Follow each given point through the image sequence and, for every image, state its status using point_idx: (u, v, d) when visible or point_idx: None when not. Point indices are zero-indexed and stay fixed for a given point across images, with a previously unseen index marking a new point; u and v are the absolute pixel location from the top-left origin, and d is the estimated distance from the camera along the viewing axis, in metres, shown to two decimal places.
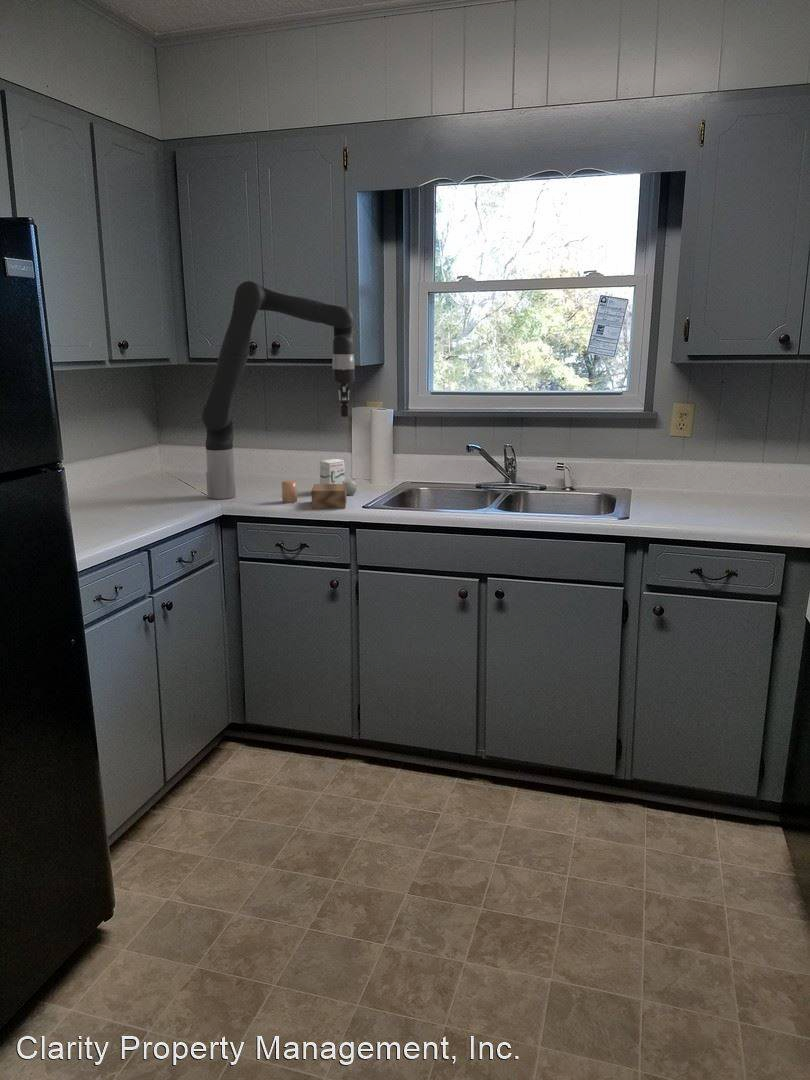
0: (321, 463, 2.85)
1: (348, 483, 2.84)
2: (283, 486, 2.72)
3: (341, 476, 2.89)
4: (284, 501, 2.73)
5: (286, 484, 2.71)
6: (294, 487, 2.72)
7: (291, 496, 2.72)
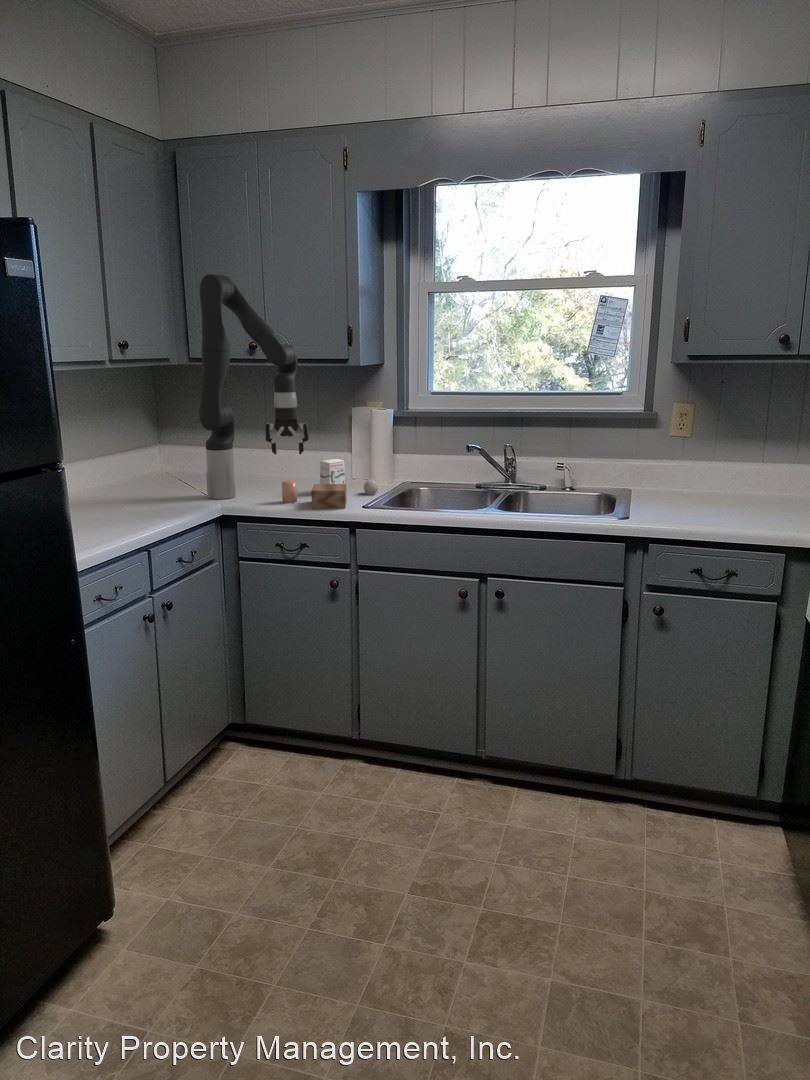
0: (321, 463, 2.85)
1: (372, 493, 2.86)
2: (283, 486, 2.72)
3: (341, 476, 2.89)
4: (284, 501, 2.73)
5: (286, 484, 2.71)
6: (294, 487, 2.72)
7: (291, 496, 2.72)
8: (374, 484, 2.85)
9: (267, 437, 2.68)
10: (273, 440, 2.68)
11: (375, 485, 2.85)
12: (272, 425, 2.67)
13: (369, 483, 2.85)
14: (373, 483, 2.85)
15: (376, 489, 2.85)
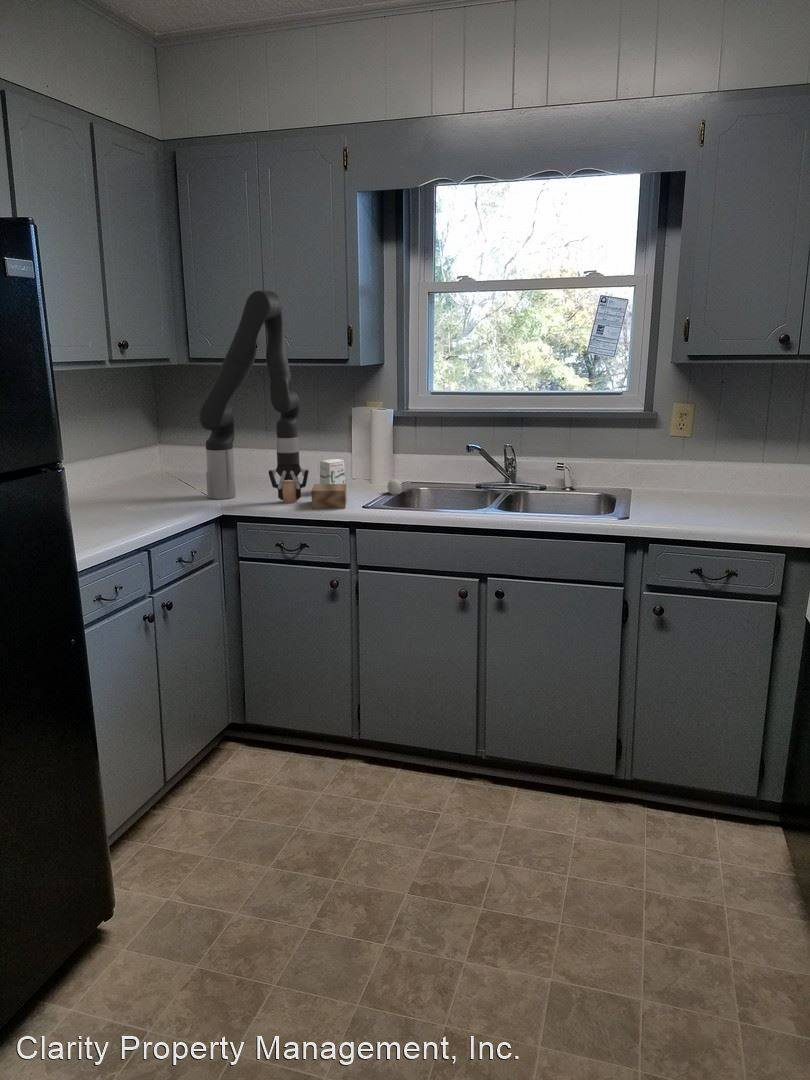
0: (321, 463, 2.85)
1: (395, 482, 2.85)
2: (283, 486, 2.72)
3: (341, 476, 2.89)
4: (284, 501, 2.73)
5: (286, 484, 2.71)
6: (294, 487, 2.72)
7: (291, 496, 2.72)
8: (390, 490, 2.86)
9: (274, 483, 2.72)
10: (279, 486, 2.72)
11: (389, 489, 2.86)
12: (274, 470, 2.71)
13: (394, 493, 2.86)
14: (390, 491, 2.86)
15: (390, 485, 2.85)
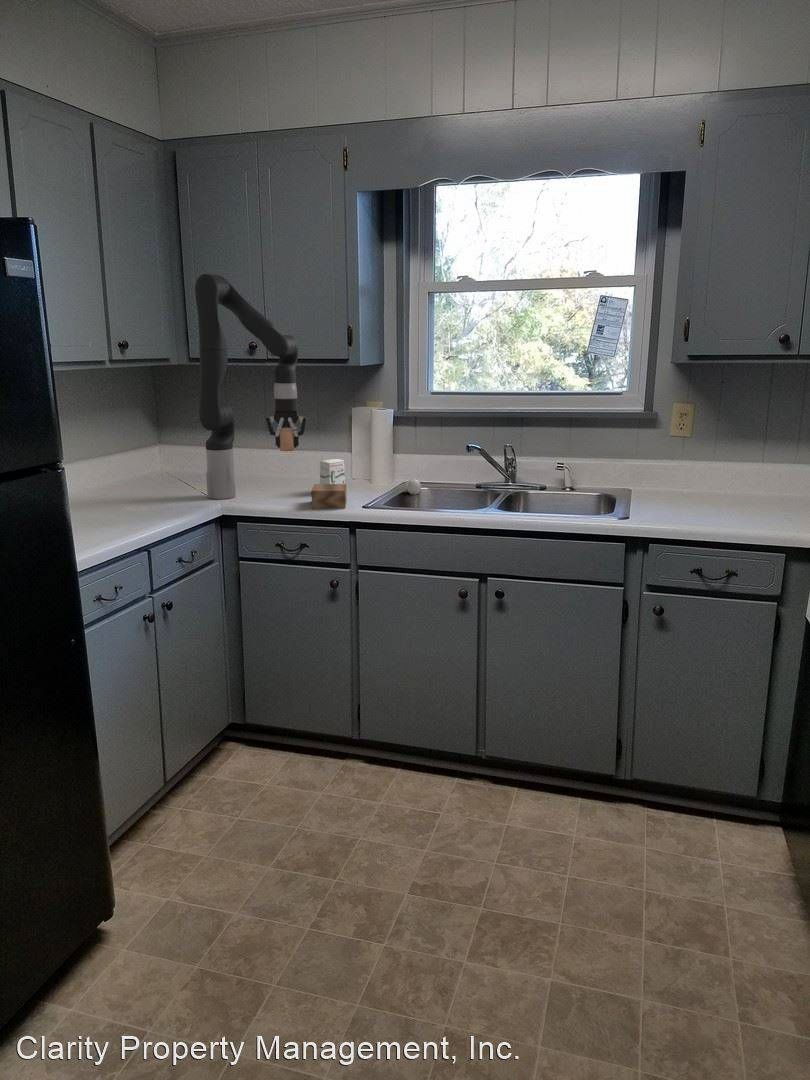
0: (321, 463, 2.85)
1: (415, 493, 2.86)
2: (281, 433, 2.67)
3: (341, 476, 2.89)
4: (281, 449, 2.68)
5: (284, 431, 2.66)
6: (292, 434, 2.67)
7: (289, 444, 2.67)
8: (418, 484, 2.86)
9: (271, 430, 2.67)
10: (277, 433, 2.67)
11: (419, 485, 2.86)
12: (272, 417, 2.67)
13: (413, 482, 2.85)
14: (417, 483, 2.86)
15: (419, 489, 2.86)
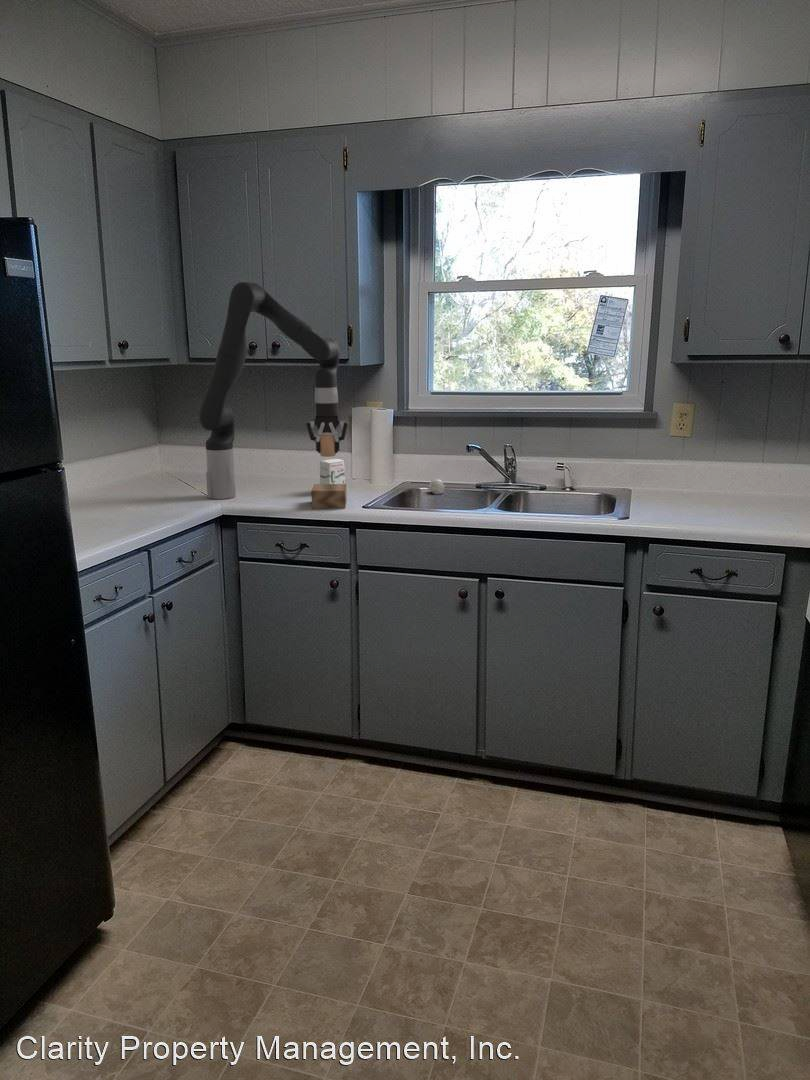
0: (321, 463, 2.85)
1: (438, 482, 2.86)
2: (321, 438, 2.62)
3: (341, 476, 2.89)
4: (322, 454, 2.64)
5: (325, 436, 2.62)
6: (333, 439, 2.63)
7: (330, 449, 2.63)
8: (433, 490, 2.86)
9: (312, 435, 2.63)
10: (317, 438, 2.63)
11: (432, 488, 2.86)
12: (312, 422, 2.62)
13: (437, 492, 2.87)
14: (433, 491, 2.87)
15: (432, 484, 2.86)
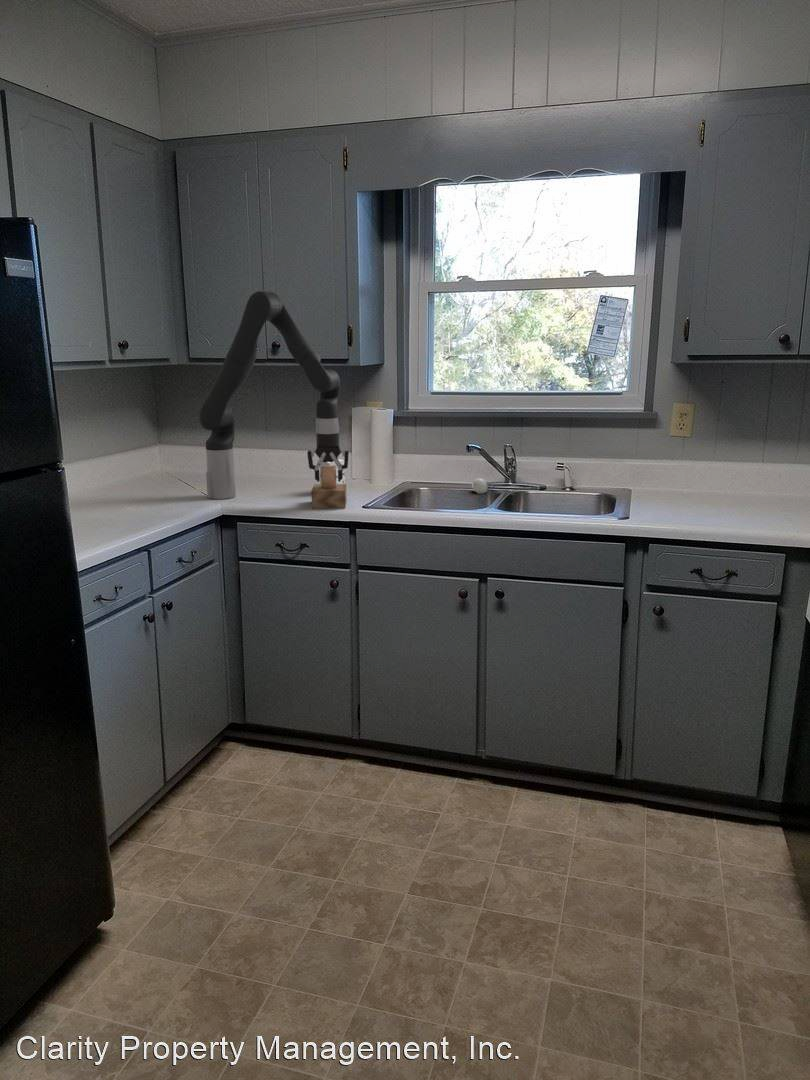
0: (321, 463, 2.85)
1: (481, 481, 2.87)
2: (322, 471, 2.65)
3: None
4: (323, 486, 2.66)
5: (325, 469, 2.64)
6: (334, 472, 2.66)
7: (330, 481, 2.66)
8: (475, 489, 2.87)
9: (310, 464, 2.65)
10: (316, 467, 2.65)
11: (475, 488, 2.87)
12: (313, 452, 2.65)
13: (480, 491, 2.87)
14: (476, 490, 2.87)
15: (475, 484, 2.87)
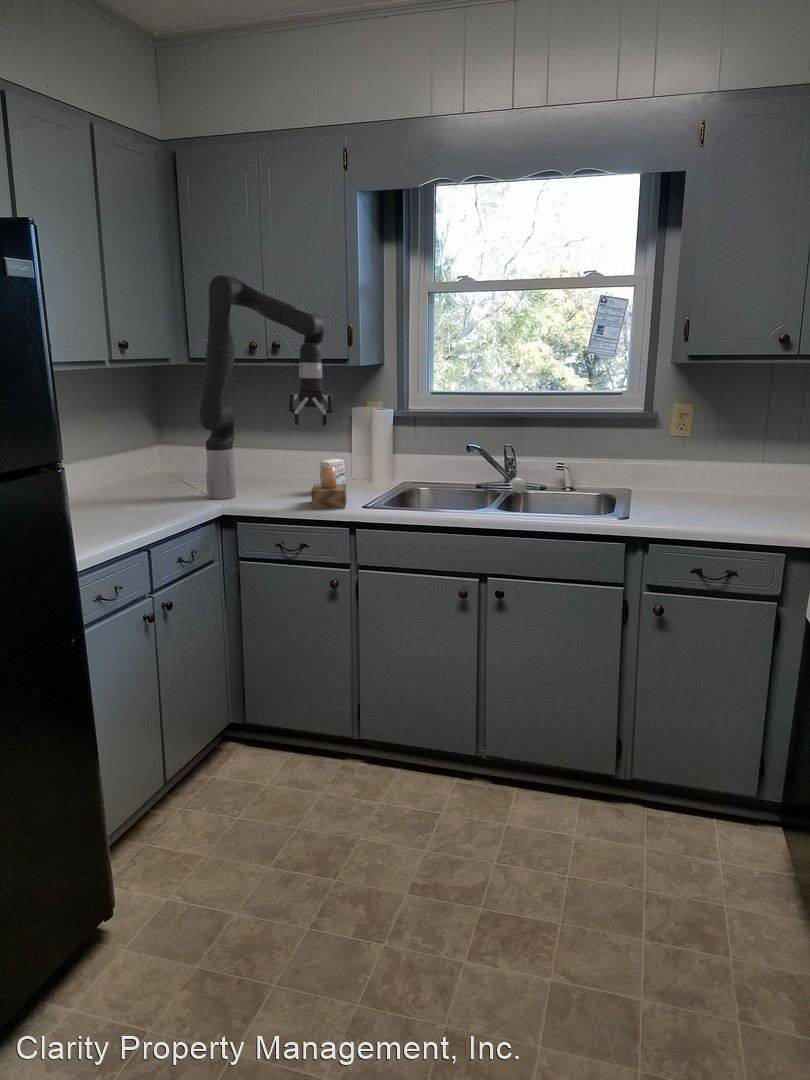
0: (321, 463, 2.85)
1: (517, 481, 2.87)
2: (322, 471, 2.65)
3: (341, 476, 2.89)
4: (323, 486, 2.66)
5: (325, 469, 2.64)
6: (333, 472, 2.66)
7: (330, 481, 2.66)
8: (516, 490, 2.88)
9: (290, 407, 2.64)
10: (296, 411, 2.64)
11: (515, 490, 2.88)
12: (296, 395, 2.64)
13: (521, 491, 2.88)
14: (517, 491, 2.88)
15: (514, 486, 2.88)
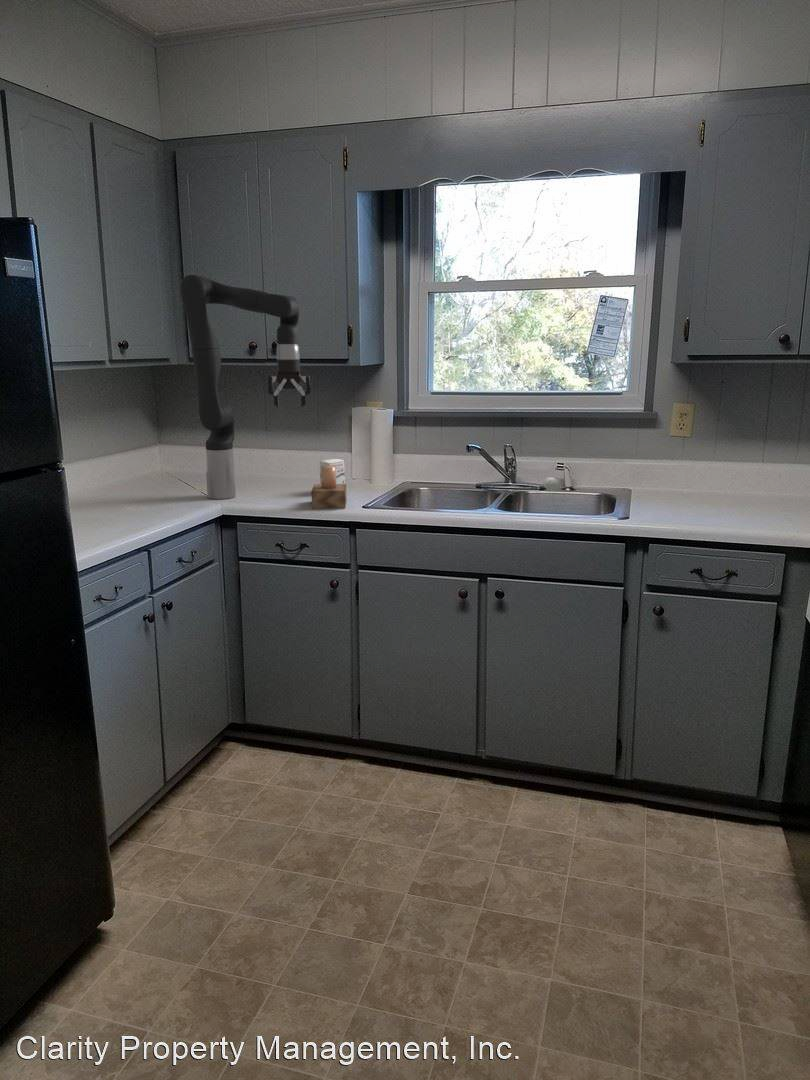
0: (321, 463, 2.85)
1: (547, 486, 2.88)
2: (322, 471, 2.65)
3: (341, 476, 2.89)
4: (323, 486, 2.66)
5: (325, 469, 2.64)
6: (333, 472, 2.66)
7: (330, 481, 2.66)
8: (556, 489, 2.89)
9: (269, 389, 2.68)
10: (275, 392, 2.68)
11: (555, 490, 2.89)
12: (274, 377, 2.67)
13: (558, 484, 2.88)
14: (557, 488, 2.89)
15: None
